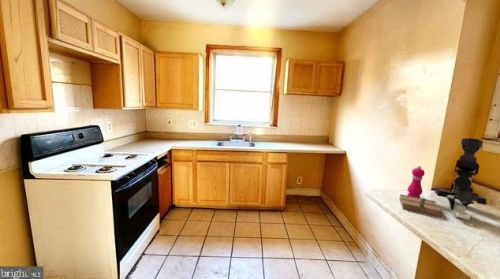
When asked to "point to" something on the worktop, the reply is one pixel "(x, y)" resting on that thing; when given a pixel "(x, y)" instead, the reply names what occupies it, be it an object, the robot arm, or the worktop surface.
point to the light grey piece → (459, 210)
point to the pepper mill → (416, 183)
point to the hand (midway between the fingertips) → (456, 211)
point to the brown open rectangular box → (420, 205)
